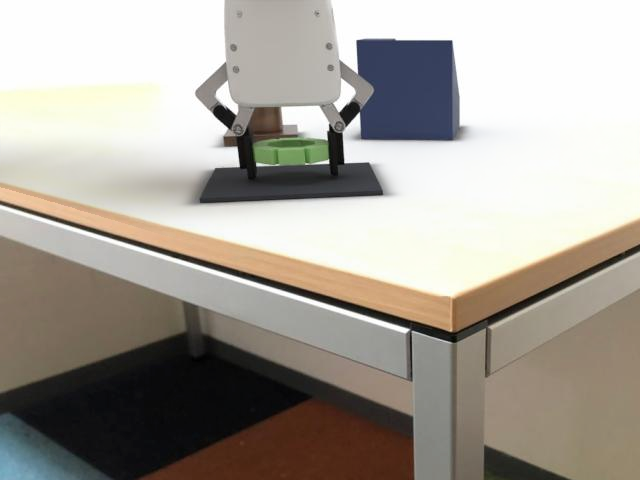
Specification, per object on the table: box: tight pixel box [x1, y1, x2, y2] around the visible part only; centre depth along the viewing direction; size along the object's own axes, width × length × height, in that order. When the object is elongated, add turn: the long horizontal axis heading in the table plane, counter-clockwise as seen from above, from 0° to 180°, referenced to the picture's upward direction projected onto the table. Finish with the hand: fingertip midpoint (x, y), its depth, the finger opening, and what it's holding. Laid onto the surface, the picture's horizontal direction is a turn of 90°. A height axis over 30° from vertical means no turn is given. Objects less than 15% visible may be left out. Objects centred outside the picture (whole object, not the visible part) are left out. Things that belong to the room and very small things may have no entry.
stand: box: [222, 104, 299, 147], centre depth 96 cm, size 9×9×8 cm
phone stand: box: [355, 38, 461, 141], centre depth 100 cm, size 12×12×12 cm
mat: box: [199, 161, 384, 203], centre depth 72 cm, size 16×14×1 cm
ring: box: [253, 137, 330, 166], centre depth 71 cm, size 7×7×1 cm
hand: (293, 173), depth 72 cm, fingers closed on ring, 7 cm apart
